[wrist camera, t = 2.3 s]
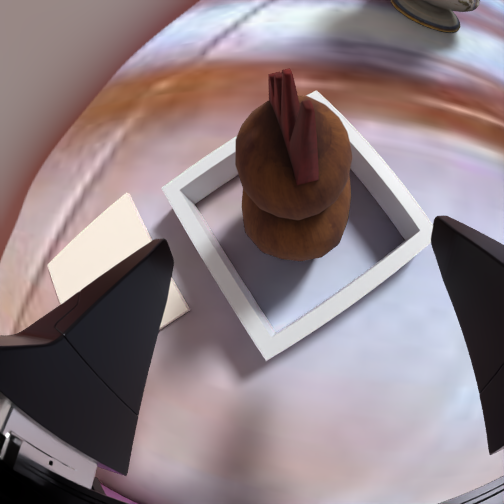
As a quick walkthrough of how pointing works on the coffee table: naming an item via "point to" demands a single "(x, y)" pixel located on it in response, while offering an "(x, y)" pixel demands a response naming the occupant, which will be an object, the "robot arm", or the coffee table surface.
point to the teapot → (116, 495)
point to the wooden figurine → (294, 174)
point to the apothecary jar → (435, 12)
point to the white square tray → (272, 343)
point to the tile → (107, 254)
